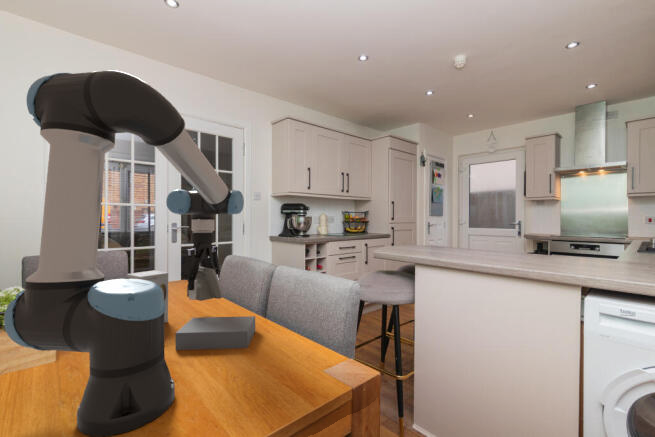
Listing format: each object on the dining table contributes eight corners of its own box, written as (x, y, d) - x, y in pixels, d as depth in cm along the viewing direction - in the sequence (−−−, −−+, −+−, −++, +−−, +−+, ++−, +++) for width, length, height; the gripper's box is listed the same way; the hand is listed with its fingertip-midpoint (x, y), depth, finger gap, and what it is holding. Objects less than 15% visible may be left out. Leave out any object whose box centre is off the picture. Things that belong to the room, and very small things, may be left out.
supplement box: (138, 330, 93) (138, 277, 93) (125, 324, 99) (125, 273, 98) (169, 321, 101) (169, 272, 101) (155, 316, 106) (155, 269, 106)
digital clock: (224, 299, 102) (224, 268, 102) (197, 304, 96) (197, 270, 96) (208, 290, 114) (209, 263, 115) (183, 294, 109) (183, 265, 109)
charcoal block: (247, 349, 81) (247, 331, 81) (175, 351, 80) (175, 332, 80) (255, 332, 93) (255, 316, 93) (192, 333, 92) (192, 317, 92)
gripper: (213, 230, 117) (213, 288, 117) (170, 232, 96) (169, 303, 96) (230, 231, 115) (229, 289, 115) (190, 233, 94) (189, 305, 94)
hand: (202, 295), depth 105 cm, fingers closed on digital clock, 9 cm apart
